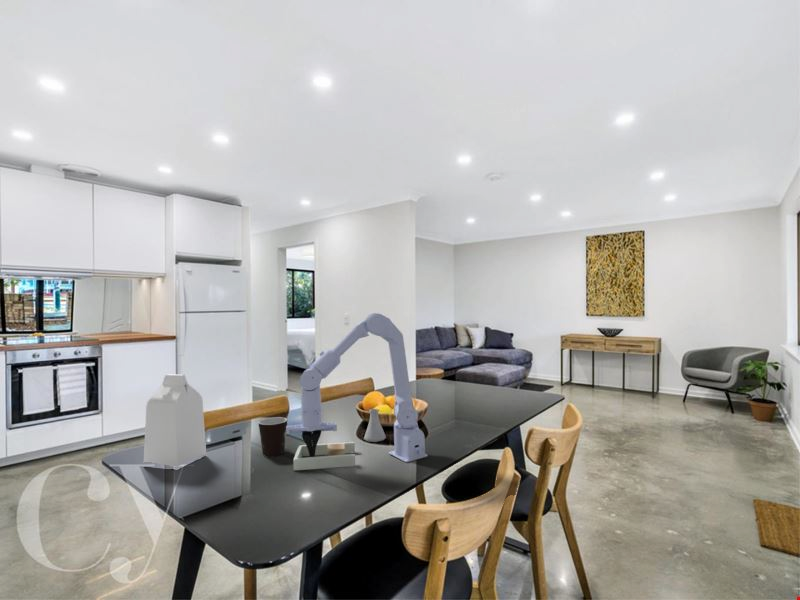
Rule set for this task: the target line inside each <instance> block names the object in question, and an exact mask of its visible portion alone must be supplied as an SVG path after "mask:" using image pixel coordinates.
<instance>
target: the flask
mask: <svg viewBox="0 0 800 600" xmlns="http://www.w3.org/2000/svg"><path fill="white" fill-rule="evenodd" d="M368 412H369V421H368V425H367V428H366V431H365V433H364V437H363V440H365V441H366V442H369V443H370V442H372V443H377V442H382V441H384V440H385V439H386V438H387V437H386V434H385V432H384V431H385V430H384V429H383V426H382V425H381V424H382V423H381V421H380V416H379V412H380V409H378V408H371V409H369V410H368Z"/></svg>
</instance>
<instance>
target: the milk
mask: <svg viewBox="0 0 800 600" xmlns="http://www.w3.org/2000/svg"><path fill="white" fill-rule="evenodd" d="M145 410H146V411H145V427H144V429H145V431H144V445H143V446H144V448H143V463H144V462H152V463H158V464H165V465H169V466H179V465H181V464H183V463H185V462H187V461H190V460H191V459H194V458H196V457H198V456H201V455H203V454H205V453H206V454H207V445H206V430H205V417H204V415H205V414H204V403H203V397H202V394H200V393H199V392H198V391H197V390H196V389H195V388H194V387H192V385H190V384H188V380H187V378H186V374H175V373H174V374H171V373H169V374H165V375H164V378H163V381H162V384H161V385H160V386H159V387H158V388H157V390H156V391H155V392H154V393H153V394H152V395H151V396H150V397H149V399H148V401H147V403H146V408H145Z"/></svg>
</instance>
